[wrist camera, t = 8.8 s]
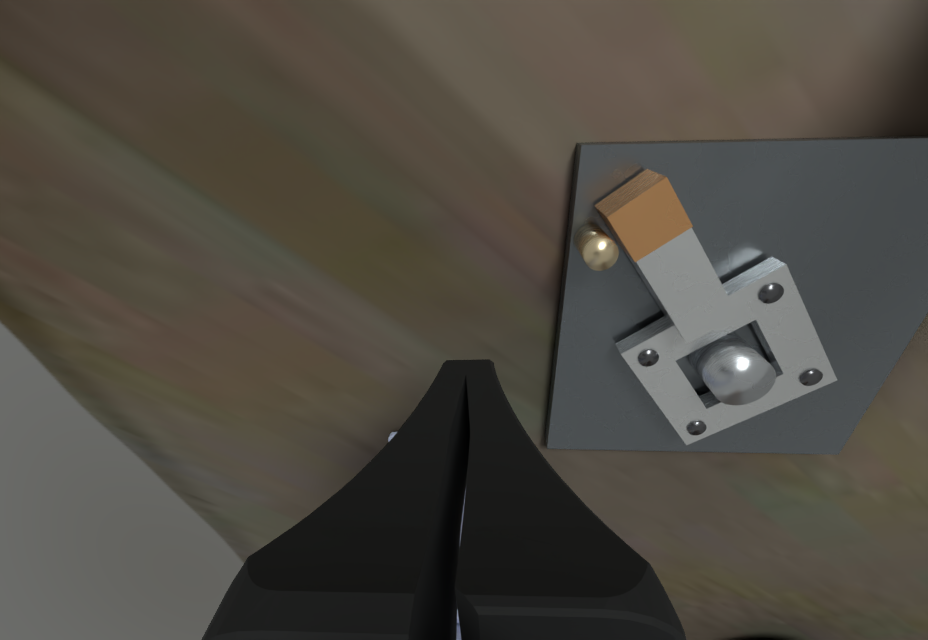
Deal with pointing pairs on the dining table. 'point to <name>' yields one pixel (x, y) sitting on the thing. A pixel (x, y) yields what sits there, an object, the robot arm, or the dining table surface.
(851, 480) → the dining table surface
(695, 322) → the silver flat metal piece
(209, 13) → the dining table surface
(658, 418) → the base plate
